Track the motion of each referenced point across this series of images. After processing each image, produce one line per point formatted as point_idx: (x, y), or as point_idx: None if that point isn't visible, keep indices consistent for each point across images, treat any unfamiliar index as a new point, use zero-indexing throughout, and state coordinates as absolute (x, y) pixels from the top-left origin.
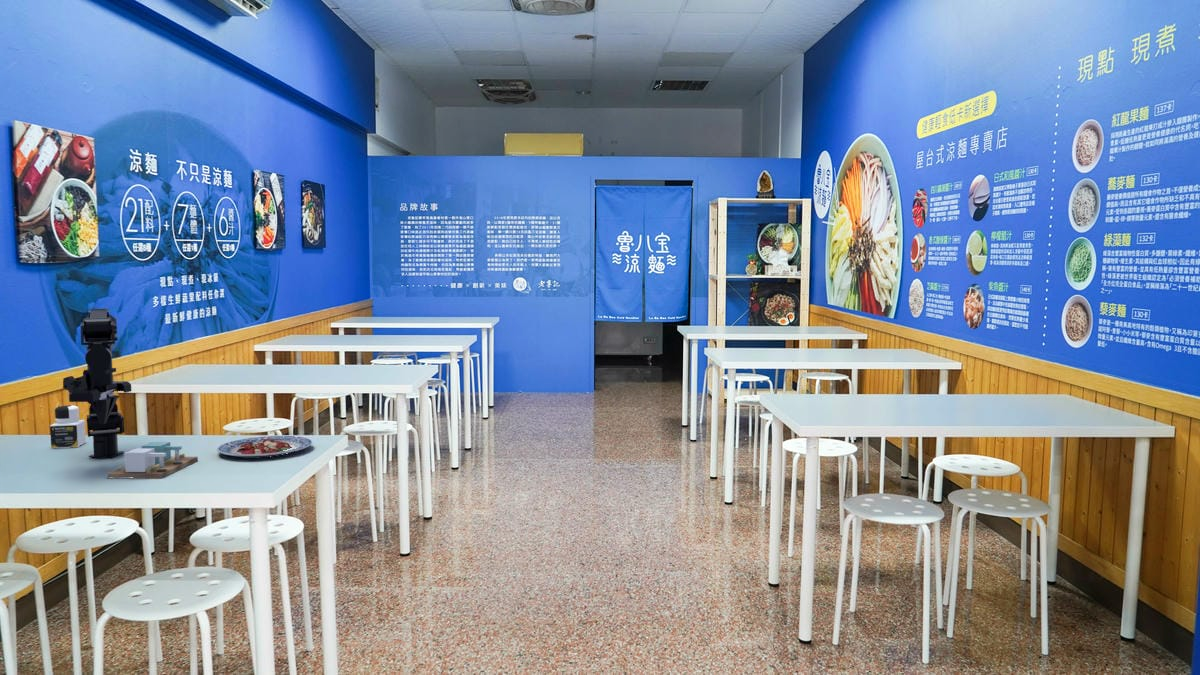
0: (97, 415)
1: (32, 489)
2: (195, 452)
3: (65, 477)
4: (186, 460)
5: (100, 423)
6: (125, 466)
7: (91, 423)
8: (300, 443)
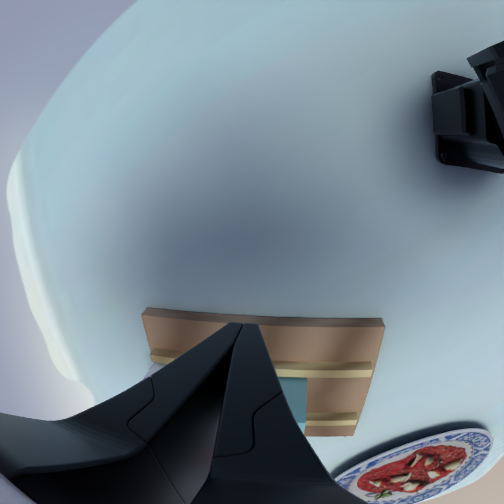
0: (180, 364)
1: (39, 179)
2: (458, 381)
3: (135, 171)
4: (309, 432)
5: (232, 323)
6: (149, 370)
7: (491, 80)
8: (422, 492)
